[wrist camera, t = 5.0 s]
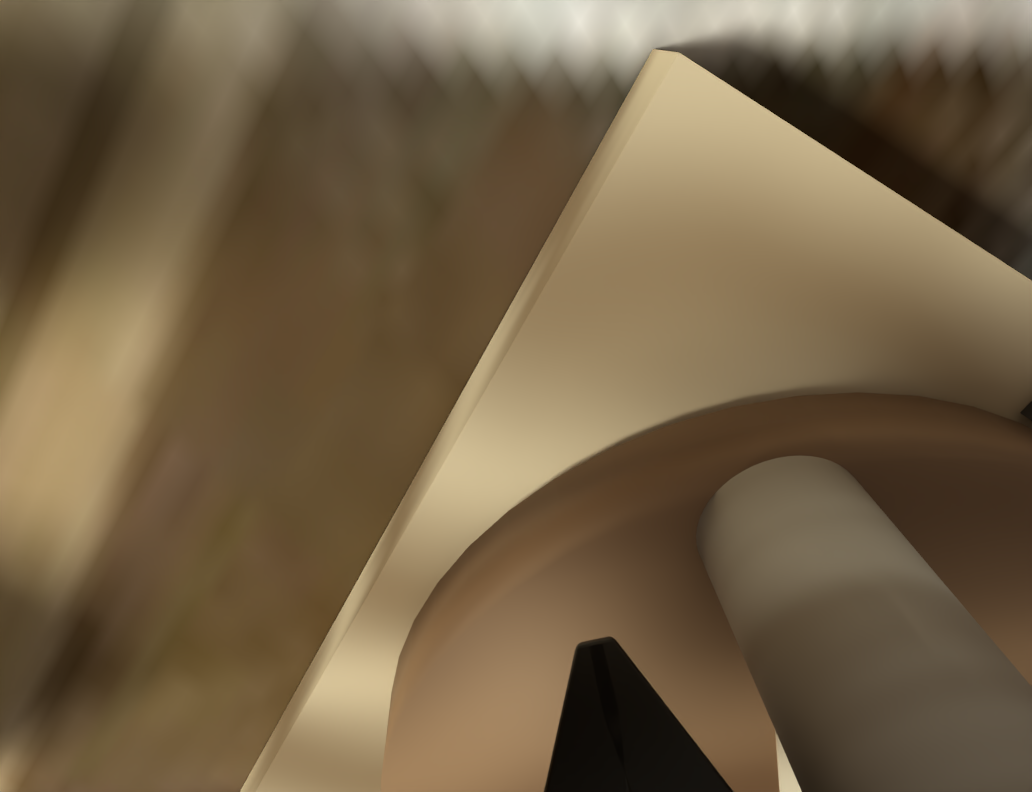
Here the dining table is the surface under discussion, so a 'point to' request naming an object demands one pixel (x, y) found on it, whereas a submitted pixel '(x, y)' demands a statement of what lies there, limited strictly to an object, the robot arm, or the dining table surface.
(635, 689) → the robot arm
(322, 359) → the dining table surface
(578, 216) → the stand
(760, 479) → the knobbed disc on base
